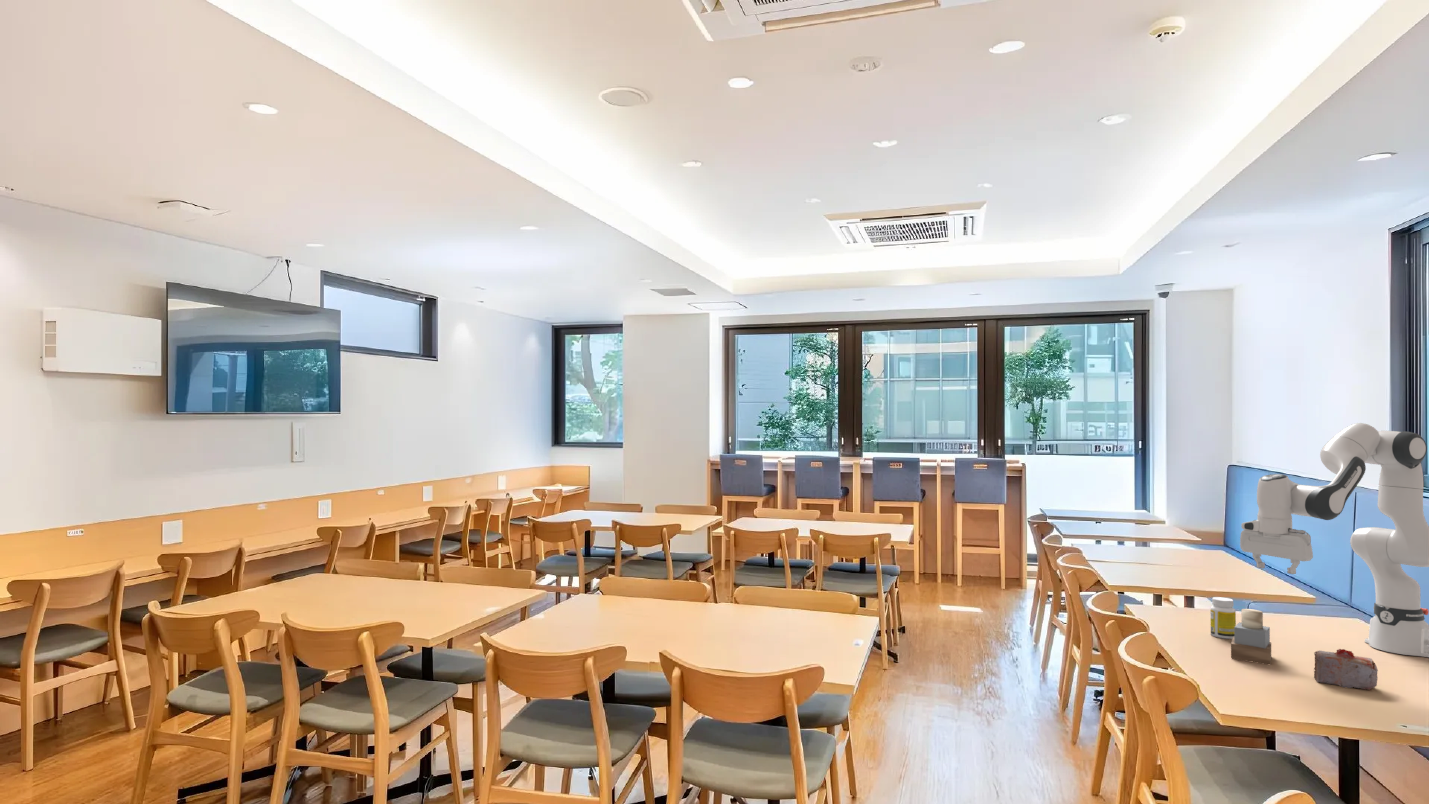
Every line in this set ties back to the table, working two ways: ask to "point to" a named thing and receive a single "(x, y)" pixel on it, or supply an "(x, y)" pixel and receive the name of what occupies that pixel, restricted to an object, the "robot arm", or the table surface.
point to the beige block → (1252, 618)
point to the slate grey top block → (1252, 636)
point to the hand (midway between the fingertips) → (1275, 570)
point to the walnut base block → (1251, 653)
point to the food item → (1345, 669)
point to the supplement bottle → (1222, 618)
